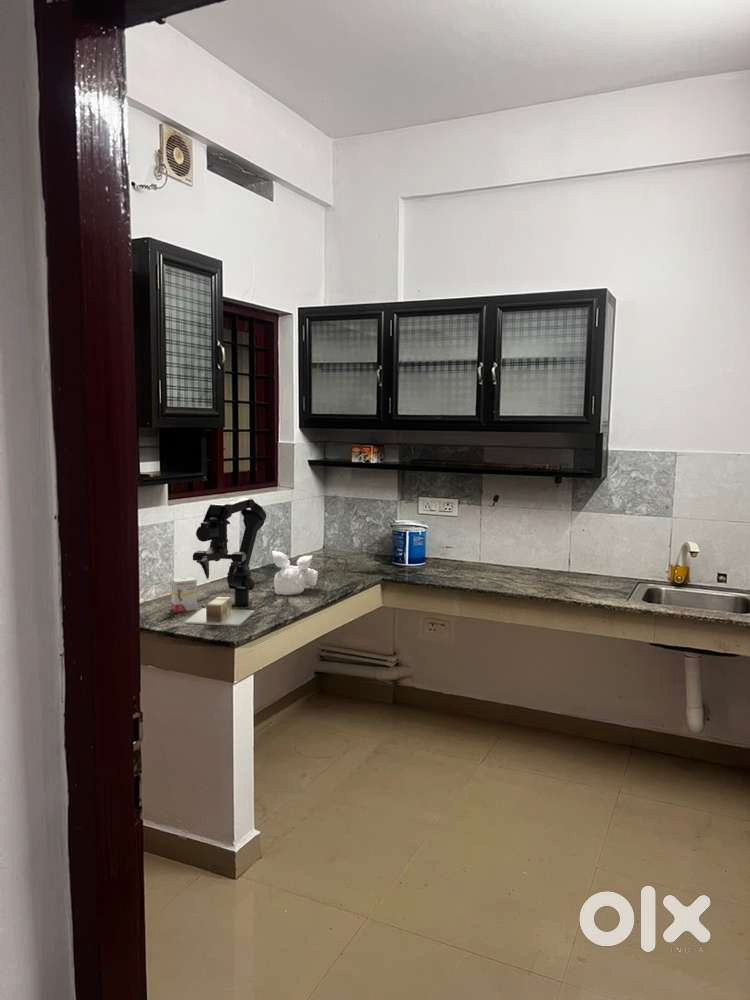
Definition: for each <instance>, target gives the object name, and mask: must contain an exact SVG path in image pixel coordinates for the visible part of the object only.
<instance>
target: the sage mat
mask: <svg viewBox="0 0 750 1000" xmlns="http://www.w3.org/2000/svg"><path fill="white" fill-rule="evenodd" d="M254 613H255V610H251V609H232V608H231V614H229V615H228V616H227V617H226V618H225V619H223V620H222V621H221V622H206V607H203V608H202V609H200V610H199V611H197V612H196V613H194V614H193V615H192V616H190V617H189V618H188V619H187V620H185V621H184V624H189V625H207V626H210V625H211V626H230V627H233V626H235V627H240V626H241V625H242V624H243V623H244V622H245V621H247V620H248V619H249V618H250V617H251V616H252V615H253V614H254Z"/></svg>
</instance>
